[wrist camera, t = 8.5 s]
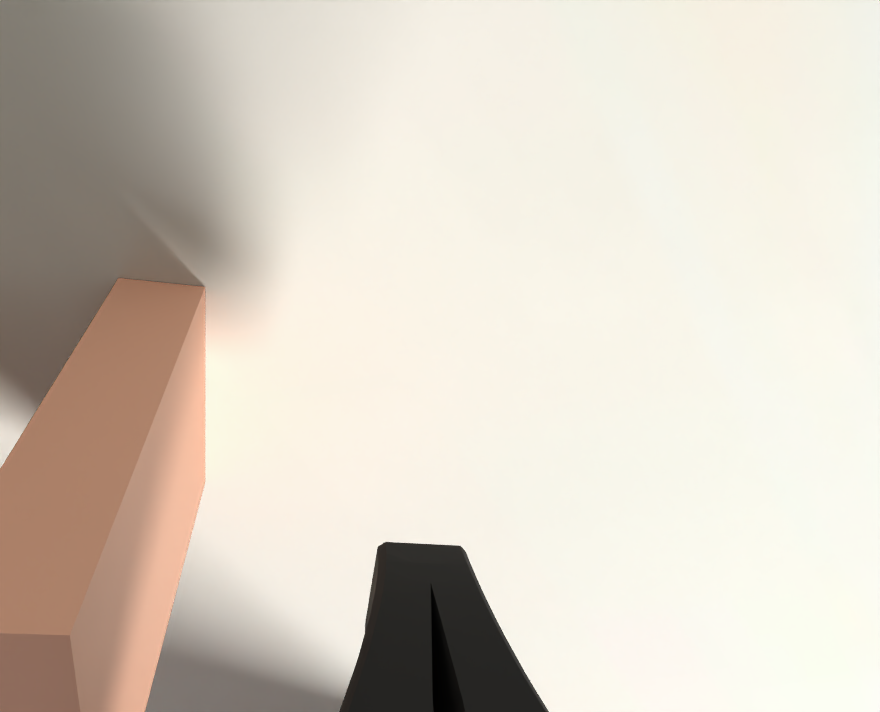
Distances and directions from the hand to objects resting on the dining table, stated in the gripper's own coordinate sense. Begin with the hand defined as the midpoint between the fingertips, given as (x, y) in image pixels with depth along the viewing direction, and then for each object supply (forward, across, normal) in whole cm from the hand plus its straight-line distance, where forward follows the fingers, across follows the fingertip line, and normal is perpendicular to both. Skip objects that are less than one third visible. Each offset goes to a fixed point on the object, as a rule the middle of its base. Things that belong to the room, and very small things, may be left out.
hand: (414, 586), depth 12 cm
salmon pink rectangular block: (+5, +5, 0) cm, 7 cm away
